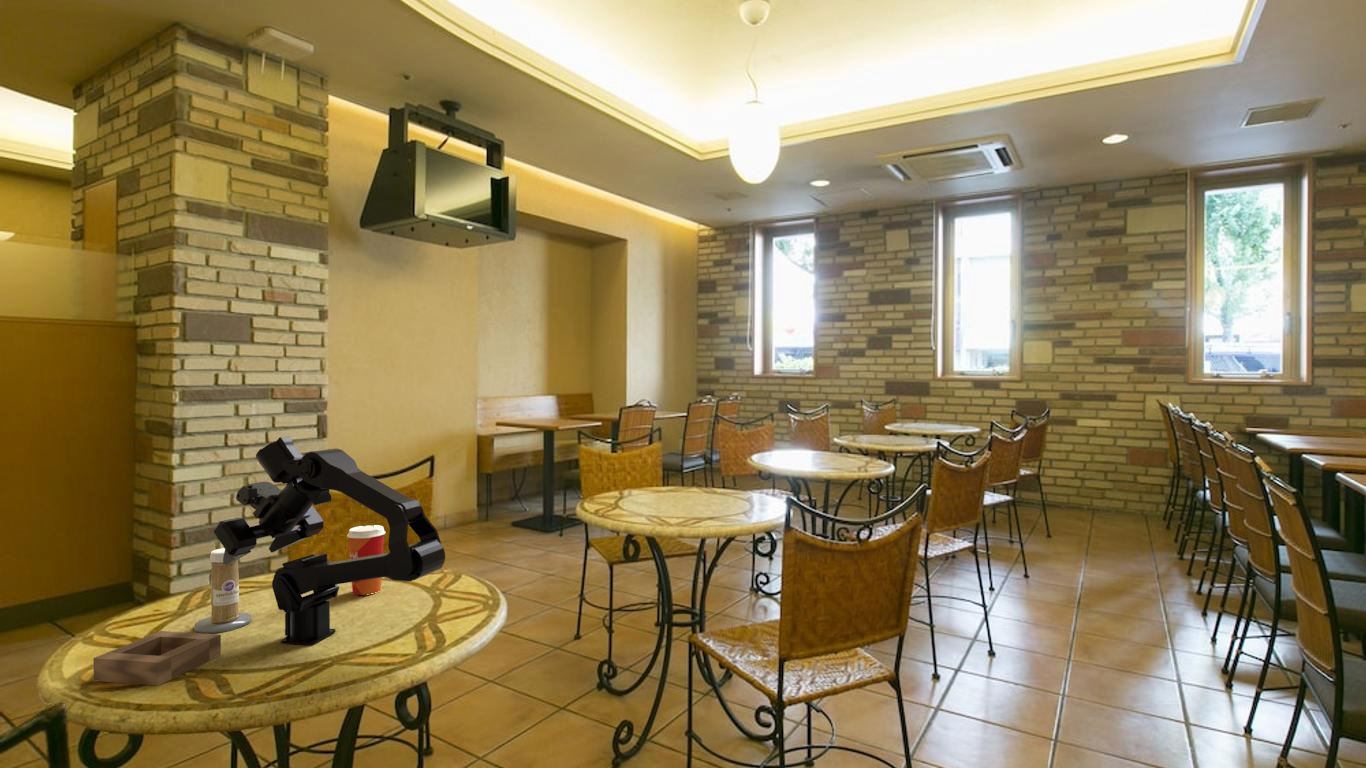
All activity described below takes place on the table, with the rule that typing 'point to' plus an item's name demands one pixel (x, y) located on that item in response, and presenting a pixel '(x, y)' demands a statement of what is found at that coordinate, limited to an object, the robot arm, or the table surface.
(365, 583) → the paper cup
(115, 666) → the walnut caddy
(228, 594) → the sprinkles bottle
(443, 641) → the table surface
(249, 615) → the slate coaster
